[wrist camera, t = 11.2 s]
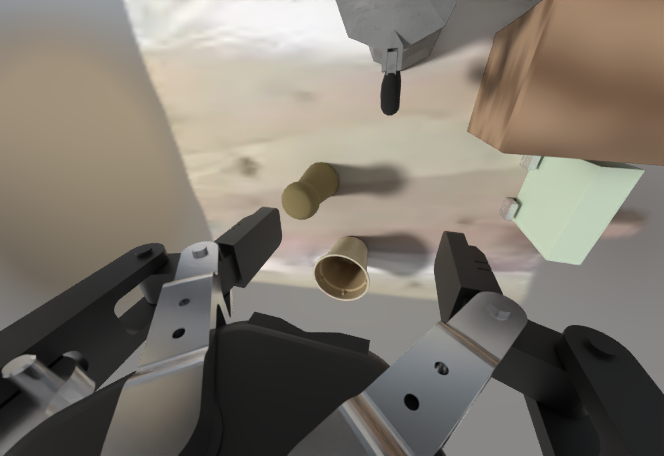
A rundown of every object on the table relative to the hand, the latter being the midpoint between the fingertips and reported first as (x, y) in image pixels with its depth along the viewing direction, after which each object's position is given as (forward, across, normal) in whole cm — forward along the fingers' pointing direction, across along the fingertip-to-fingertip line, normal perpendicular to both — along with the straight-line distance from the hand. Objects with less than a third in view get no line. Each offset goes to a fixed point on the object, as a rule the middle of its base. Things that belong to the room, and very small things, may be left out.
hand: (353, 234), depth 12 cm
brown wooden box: (+27, -16, -6) cm, 32 cm away
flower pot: (+27, +4, +20) cm, 34 cm away
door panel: (+27, -20, +5) cm, 34 cm away
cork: (+27, +10, +7) cm, 30 cm away
